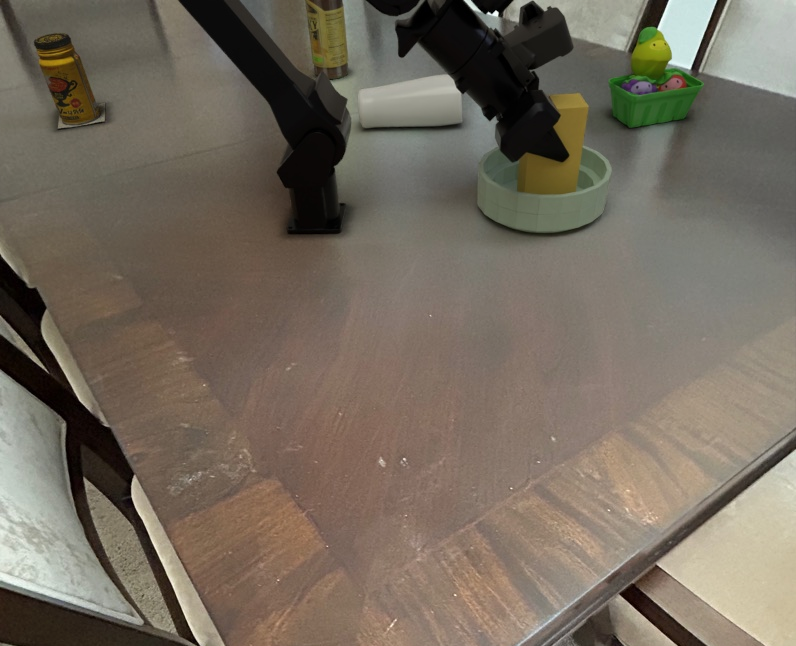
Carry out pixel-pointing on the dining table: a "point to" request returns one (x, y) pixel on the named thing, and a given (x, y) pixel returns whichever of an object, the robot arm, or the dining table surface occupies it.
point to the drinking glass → (411, 103)
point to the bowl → (542, 210)
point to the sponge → (549, 173)
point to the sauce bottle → (328, 37)
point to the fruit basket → (652, 85)
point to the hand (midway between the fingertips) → (561, 150)
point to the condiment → (67, 81)
